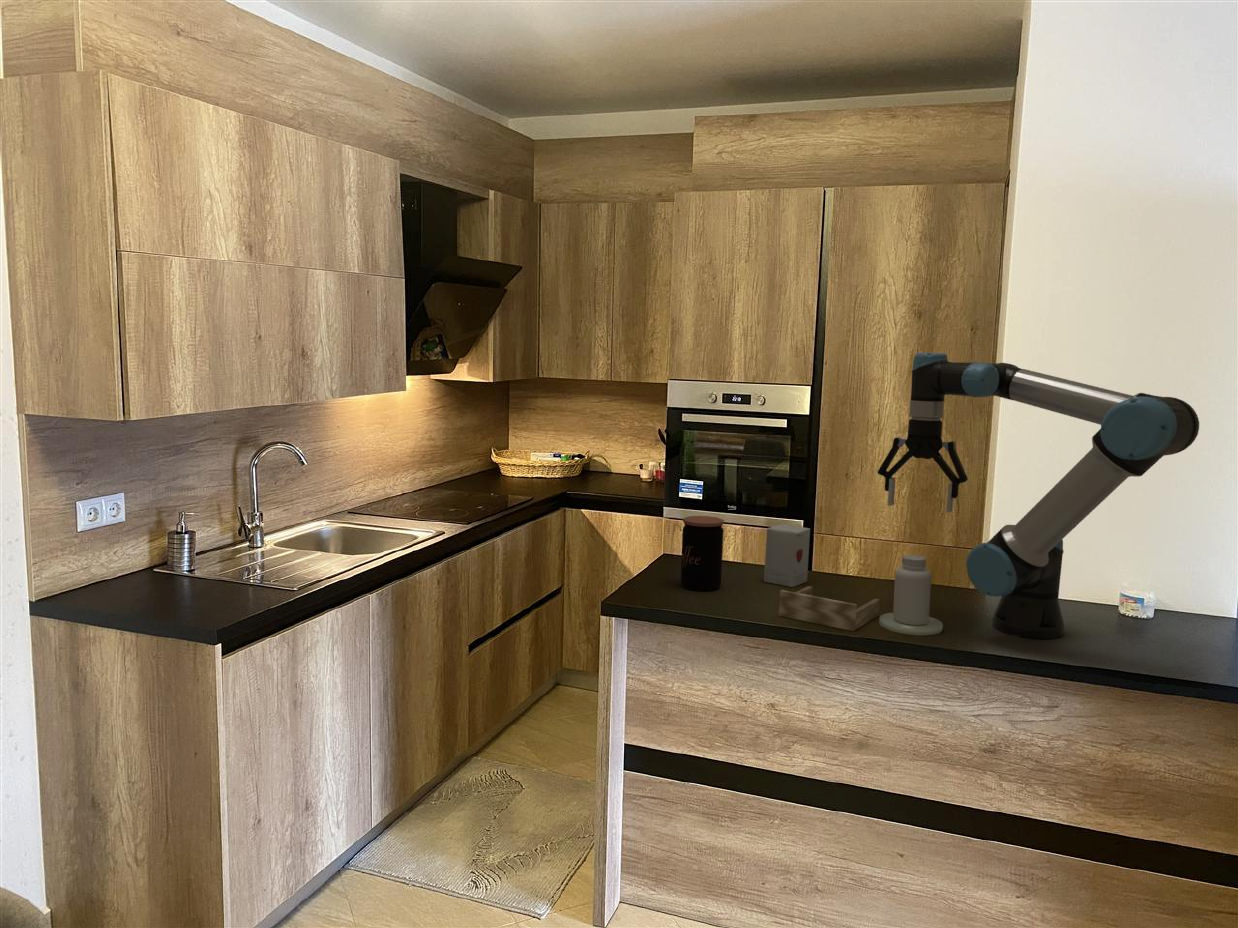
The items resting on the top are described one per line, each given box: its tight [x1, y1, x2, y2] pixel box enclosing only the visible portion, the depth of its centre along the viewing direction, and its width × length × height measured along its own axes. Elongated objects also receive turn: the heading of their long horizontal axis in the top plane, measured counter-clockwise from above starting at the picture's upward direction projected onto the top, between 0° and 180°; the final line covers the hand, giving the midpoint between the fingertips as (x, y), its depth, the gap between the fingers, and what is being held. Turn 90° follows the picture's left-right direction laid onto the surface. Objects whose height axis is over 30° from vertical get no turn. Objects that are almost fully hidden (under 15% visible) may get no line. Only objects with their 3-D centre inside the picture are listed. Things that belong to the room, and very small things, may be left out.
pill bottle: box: [892, 554, 932, 625], centre depth 211 cm, size 8×8×15 cm
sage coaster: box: [878, 612, 944, 637], centre depth 212 cm, size 14×14×1 cm
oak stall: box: [778, 585, 881, 632], centre depth 219 cm, size 18×16×6 cm
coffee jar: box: [680, 515, 725, 592], centre depth 241 cm, size 11×11×18 cm
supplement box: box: [763, 523, 811, 588], centre depth 249 cm, size 9×9×15 cm
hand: (919, 508), depth 218 cm, fingers open, 13 cm apart
